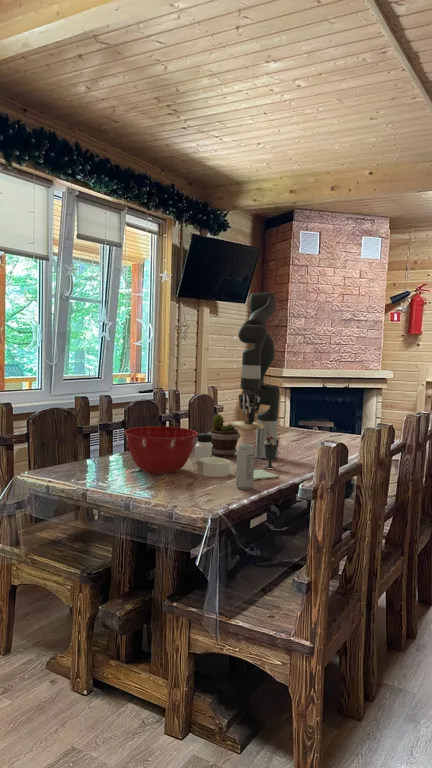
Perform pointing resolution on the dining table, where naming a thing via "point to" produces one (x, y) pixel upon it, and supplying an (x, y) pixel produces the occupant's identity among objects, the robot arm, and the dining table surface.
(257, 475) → the mat
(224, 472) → the bowl
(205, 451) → the medicine bottle
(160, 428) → the mixing bowl
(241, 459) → the energy drink can
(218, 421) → the flowerpot
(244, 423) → the lid
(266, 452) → the sundae
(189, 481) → the dining table surface
